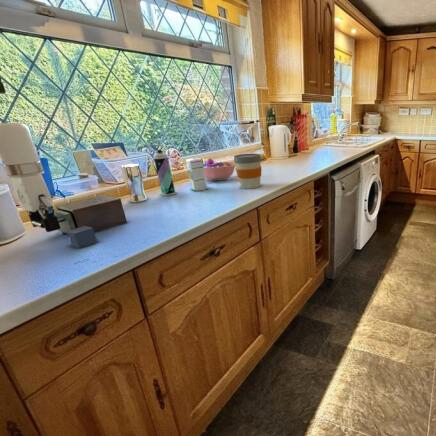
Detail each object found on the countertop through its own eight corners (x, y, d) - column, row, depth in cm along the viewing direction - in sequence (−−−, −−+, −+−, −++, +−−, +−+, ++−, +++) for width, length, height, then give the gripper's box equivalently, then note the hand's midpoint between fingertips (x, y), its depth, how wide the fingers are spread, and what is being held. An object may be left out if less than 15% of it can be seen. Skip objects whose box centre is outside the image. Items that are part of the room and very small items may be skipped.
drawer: (49, 243, 86) (41, 220, 84) (34, 236, 91) (26, 215, 89) (117, 222, 101) (111, 203, 99) (101, 218, 106) (95, 199, 103)
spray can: (160, 194, 138) (150, 149, 131) (173, 191, 142) (163, 148, 135) (164, 196, 134) (154, 150, 128) (177, 193, 138) (167, 149, 131)
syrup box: (207, 188, 145) (202, 158, 140) (195, 191, 141) (189, 160, 136) (203, 187, 149) (197, 157, 144) (191, 189, 145) (185, 159, 140)
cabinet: (81, 236, 92) (72, 210, 89) (64, 230, 98) (55, 205, 95) (127, 222, 103) (120, 198, 100) (109, 217, 109) (102, 194, 106)
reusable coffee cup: (255, 190, 139) (251, 157, 134) (232, 189, 143) (227, 157, 138) (268, 184, 151) (265, 153, 145) (246, 182, 154) (243, 153, 149)
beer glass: (125, 202, 127) (115, 166, 122) (138, 197, 134) (130, 163, 129) (139, 202, 126) (129, 167, 121) (151, 198, 132) (143, 164, 127)
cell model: (226, 184, 153) (223, 161, 149) (192, 183, 157) (188, 161, 154) (243, 177, 168) (240, 156, 164) (211, 176, 173) (208, 156, 169)
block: (79, 248, 84) (74, 233, 83) (71, 245, 86) (66, 231, 85) (97, 242, 88) (92, 228, 86) (89, 239, 90) (85, 225, 88)
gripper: (-5, 170, 84) (18, 227, 90) (18, 174, 76) (43, 237, 82) (29, 165, 90) (49, 219, 96) (55, 169, 82) (75, 228, 88)
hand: (46, 227), depth 89 cm, fingers open, 8 cm apart
